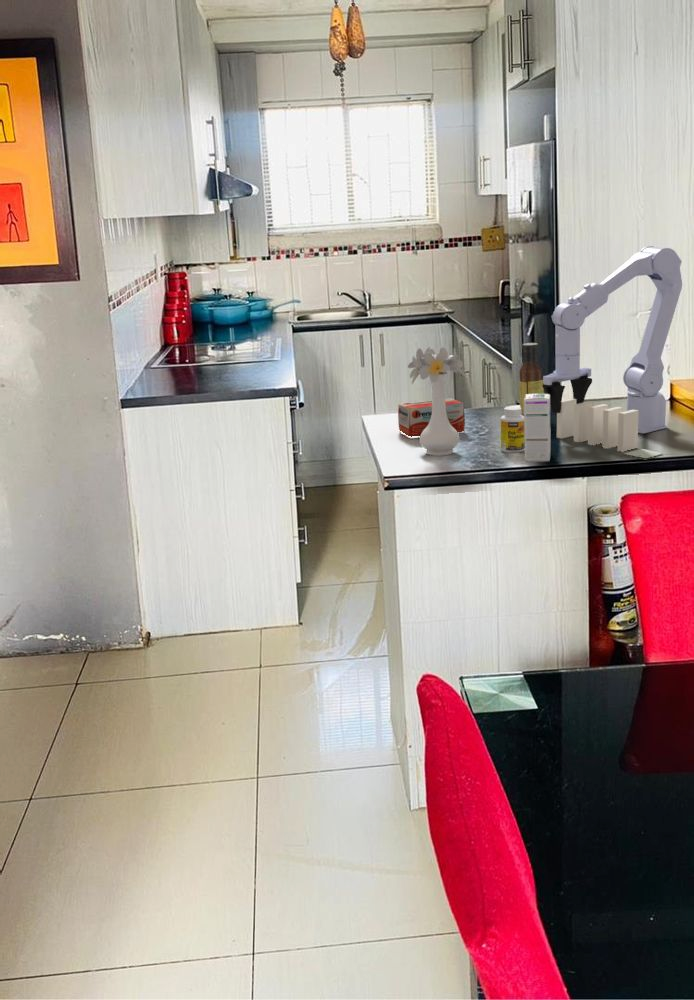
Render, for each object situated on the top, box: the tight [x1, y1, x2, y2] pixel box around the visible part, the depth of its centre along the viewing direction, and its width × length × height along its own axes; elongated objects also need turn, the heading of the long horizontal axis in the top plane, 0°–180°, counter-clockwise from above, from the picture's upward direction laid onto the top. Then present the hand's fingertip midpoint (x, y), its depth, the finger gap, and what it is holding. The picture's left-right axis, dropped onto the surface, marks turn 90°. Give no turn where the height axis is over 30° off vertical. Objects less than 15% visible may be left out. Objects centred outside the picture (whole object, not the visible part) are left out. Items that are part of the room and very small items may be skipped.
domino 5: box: [616, 410, 639, 453], centre depth 243 cm, size 2×5×9 cm, turn 125°
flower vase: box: [407, 346, 468, 457], centre depth 246 cm, size 13×18×25 cm
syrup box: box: [524, 393, 552, 462], centre depth 238 cm, size 6×6×14 cm
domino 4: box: [601, 406, 624, 449], centre depth 246 cm, size 2×5×9 cm, turn 125°
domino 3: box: [587, 403, 609, 446], centre depth 250 cm, size 2×5×9 cm, turn 125°
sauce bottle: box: [518, 342, 545, 416], centre depth 276 cm, size 6×6×20 cm
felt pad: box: [623, 448, 664, 458], centre depth 239 cm, size 6×6×1 cm
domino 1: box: [556, 397, 576, 440], centre depth 258 cm, size 2×5×9 cm, turn 126°
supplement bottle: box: [500, 405, 525, 454], centre depth 247 cm, size 6×6×10 cm
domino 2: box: [573, 401, 595, 443], centre depth 254 cm, size 2×5×9 cm, turn 125°
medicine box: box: [397, 397, 466, 437], centre depth 268 cm, size 15×8×8 cm, turn 108°
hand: (567, 409), depth 257 cm, fingers open, 7 cm apart
